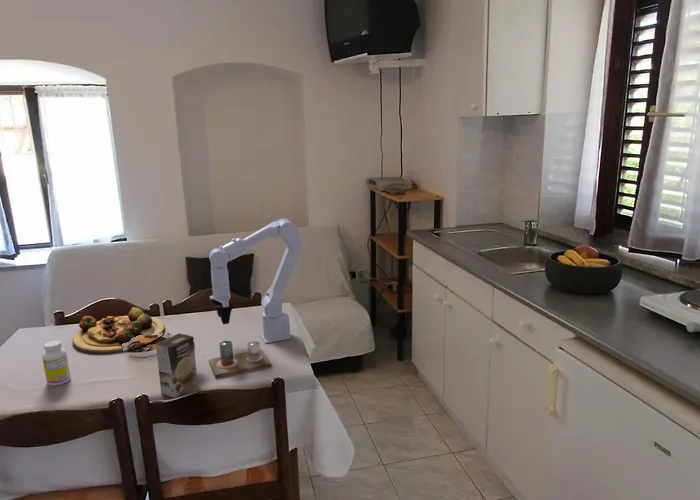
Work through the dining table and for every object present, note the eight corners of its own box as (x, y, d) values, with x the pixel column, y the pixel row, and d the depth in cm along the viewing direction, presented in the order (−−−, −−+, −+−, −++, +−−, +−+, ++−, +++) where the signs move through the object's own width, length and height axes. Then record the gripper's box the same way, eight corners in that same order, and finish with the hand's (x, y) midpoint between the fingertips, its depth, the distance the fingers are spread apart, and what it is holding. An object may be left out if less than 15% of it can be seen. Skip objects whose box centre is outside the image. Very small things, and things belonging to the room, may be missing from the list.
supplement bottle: (52, 376, 175) (46, 339, 172) (74, 375, 176) (68, 338, 172) (43, 387, 169) (36, 348, 165) (65, 385, 169) (58, 347, 166)
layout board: (261, 352, 189) (260, 335, 187) (271, 366, 178) (270, 348, 177) (208, 362, 182) (207, 344, 180) (215, 378, 171) (213, 359, 170)
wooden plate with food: (52, 346, 198) (49, 325, 196) (120, 315, 226) (118, 296, 224) (119, 363, 186) (116, 341, 183) (182, 327, 214) (180, 307, 211)
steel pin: (231, 359, 181) (230, 339, 179) (235, 364, 178) (233, 344, 176) (219, 362, 179) (217, 342, 177) (223, 367, 176) (221, 347, 174)
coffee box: (175, 398, 160) (169, 348, 156) (160, 393, 163) (154, 343, 159) (198, 384, 168) (193, 336, 164) (183, 380, 171) (178, 332, 167)
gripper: (205, 279, 195) (208, 314, 198) (212, 291, 182) (216, 329, 185) (225, 276, 198) (228, 311, 201) (233, 287, 185) (236, 325, 188)
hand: (223, 319), depth 193 cm, fingers open, 7 cm apart
